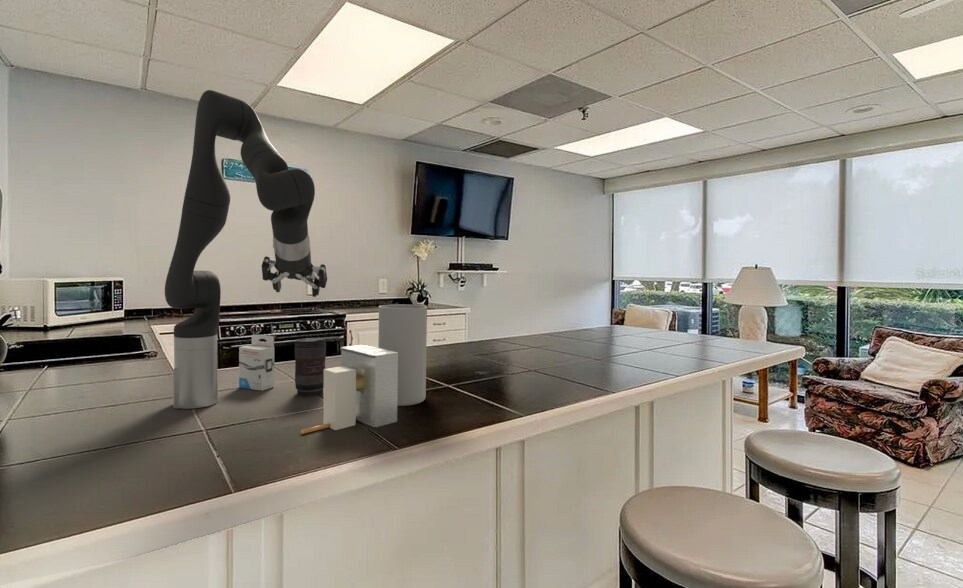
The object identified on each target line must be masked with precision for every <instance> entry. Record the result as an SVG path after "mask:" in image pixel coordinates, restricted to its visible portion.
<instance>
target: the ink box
mask: <svg viewBox="0 0 963 588" xmlns="http://www.w3.org/2000/svg"><path fill="white" fill-rule="evenodd" d="M262 339H263V340H265V341H262ZM238 350H239V351H238V362H239V363H238V388H241V389H247V390H256V391H260V390H261V392H262V391H266V390H268V389H271V388H272V387H273V388H275V337H274V336H273V335H263V334H251V344H250V345H244V346H239V347H238Z"/></svg>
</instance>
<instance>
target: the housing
mask: <svg viewBox="0 0 963 588" xmlns="http://www.w3.org/2000/svg"><path fill="white" fill-rule="evenodd" d="M339 351H341V355H340V356H341V357H340V358H341V359H340V360H341V363H340V364H341V365H340V367H341V366H345V367H349V368H352V369H356V379H358V378H363V377H364V388H362V389H356V421H359V422H361V423H363V424H365V425H368V426H370V427H373V428H375V427H376V428H379V427H383V426H385V425H389V424H394V423H397V422H398V406H397V391H398V352H394V351H390V350H385V349H381V348H378V347H376V346H372V345H371V346H370V345H367V344H356V345H347V346H341V347H340V348H339Z"/></svg>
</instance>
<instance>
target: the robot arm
mask: <svg viewBox="0 0 963 588" xmlns="http://www.w3.org/2000/svg"><path fill="white" fill-rule="evenodd" d="M195 115H196V116H195V125H194V134H193V135H194V137H193V146H192V147H193V148H192V156H191V164H190V167H189V172H188V173H189V174H188V179H187V182H186V187H185V192H184V197H183V203H182V208H181V216H180V221H179V226H178V227H179V228H178V233H177V239H176V244H175V248H174V249H173V250H174V251H173V254H172V257H171V262H170V264H169V267H168V272H167V275H166V279H165V284H164V297H165V301H166V303H167V305H168V306H169V307H170V308H172V309H176V310H177V309H178V310H182V309H183V310H184V309H185V310H186V309H187V310H188V309H194V312H193V313H192V315H190V317H188V318H186V319H185V320H182V321H180V322H178V323H176V324H175V325H174V326H173V369H172V386H173V387H172V388H173V389H172V392H173V393H172V394H173V395H172V397H173V398H172V399H173V403H172V404H173V409H182V410H183V409H184V410H185V409H186V410H187V409H199V408H200V409H201V408H206V407H210V406H213V405H215V404H217V403H218V398H219V397H218V394H219V392H218V391H219V390H218V389H219V388H218V382H219V381H218V327H219V323H220V319H221V318H220V317H221V315H220V314H221V313H220V311H221V294H222V291H221V283H220V278H218V275H217V274H216V273H215V272H213V271H211V270H195V267H196V265H197V262H198V259H199V258H200V255H201V254H202V252H203V251H204V250H205V249H206V248H207V247H208V246H209V244H210V243H212V241H213V240H215V238H216V237H217V236H218V235H219V234H220V232H222V230H223V229H224V227H225V225H226V223H227V219H228V216H229V215H228V214H229V208H230V203H231V194H230V190H229V188H228V185H227V182H226V180H225V178H224V175H223V173H222V171H221V170H220V166H219V164H218V159H217V156H216V138H217V137H221V138H223V139H229V140H230V141H238V142H240V143H242V144H241V146H240V158H241V160H242V162H243V165H244V166H245V167H246V169H247V170H248V172H249V173H250V174H251V175H252V177H253V178H254V179H253V180H254V181H255V187H256V194H257V197H258V200H259V202H260V204H261V205H262V207H263V208H265V209H267V210H269V211H271V214H270V215H271V216H270V222H271V227H272V228H271V229H272V248H273V252H274V258H275V260H271V259H270V256H264V257H263V261H262V263H261V273H262V274H261V275H262V280H263V281H270V283H272V288H273V290H274V291H275V292H276V293H280V292H281V290H282V281H283V279H285V278H287V279H289V280H297V281H303V283H305V284H306V285H309V286H310V287H311V294H312V298H316V296H318V295H319V293H320V291H321V289H325V288H326V286H327V284H328V283H327V282H328V274H327V267H326V265H325V264H323V263H322V264H320V265H319V266H315V265H313V263H312V255H311V254H312V253H311V240H310V235H309V227H308V219H309V216H310V212H311V210H312V206H313V204H314V200H315V196H316V189H315V183H314V180H313V178H312V176H311V174H310V173H309V172H307V170H305V169H303V168H299V167H296V168H294V167H293V168H290V169H289V166H288V164H287V163H288V162H286V160H285V158H284V157H283V156H282V155H281V154H280V152H279V151H278V150H277V149H276V148H275V147H274V145H273V144H272V142H270V140H269V138H268V136H267V134H266V132H265V129H264V127H263V124H262V123H261V121H260V119H259V116H258V114H257V112H256V110H255V109H254V108H253V107H252V105H250V104H249V103H248V102H247V101H245V100H242V99H239V98H236V97H233V96H231V95H228V94H225V93H222V92H218V91H215V90H212V89H208V90H205V91H203V93H202V94H201V96H200V98H199V100H198V103H197V107H196V114H195ZM273 267H274V268H275V271H274V272H272V268H273Z"/></svg>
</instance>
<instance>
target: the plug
mask: <svg viewBox="0 0 963 588" xmlns="http://www.w3.org/2000/svg"><path fill="white" fill-rule="evenodd" d="M362 388H364V377H363V378H358V379H356V369H352V368H349V367H345V366H341V365H340V366H335V367H329V368H325V369H324V388H323V418H322V419H323V423H322V424H320V425H316V426H312V427H308V428H307V427H306V428H304V429H301V430H300V433H301V435H303V434H304V435H305V434H309V433H311V432H312V433H313V432H316V431H320V430H324V429H325V430H326V429H328V428H329V429H331V430H334V431H338V430H342V429H345V428H350V427H352V426H353V427H354V426H356V421H357V420H356V389H362Z"/></svg>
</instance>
